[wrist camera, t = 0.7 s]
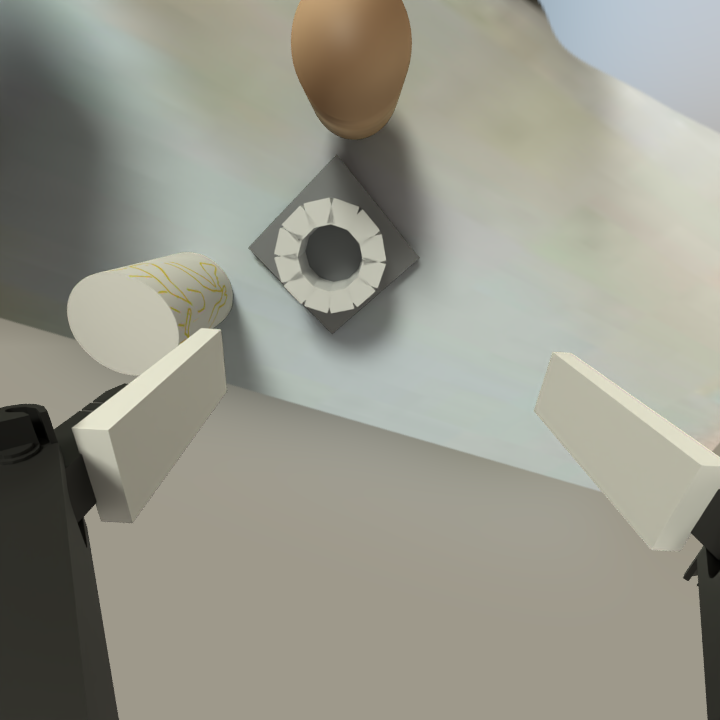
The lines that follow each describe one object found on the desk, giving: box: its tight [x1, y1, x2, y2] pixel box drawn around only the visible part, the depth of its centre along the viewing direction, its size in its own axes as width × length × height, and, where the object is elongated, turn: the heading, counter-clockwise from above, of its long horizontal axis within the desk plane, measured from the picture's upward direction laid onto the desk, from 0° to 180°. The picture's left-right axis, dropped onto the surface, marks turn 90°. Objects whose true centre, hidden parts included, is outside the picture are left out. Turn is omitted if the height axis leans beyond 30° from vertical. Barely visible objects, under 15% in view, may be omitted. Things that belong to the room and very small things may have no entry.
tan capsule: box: [291, 0, 412, 140], centre depth 25 cm, size 7×7×11 cm
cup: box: [67, 252, 233, 376], centre depth 32 cm, size 8×8×12 cm
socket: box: [249, 155, 419, 334], centre depth 33 cm, size 12×12×6 cm
